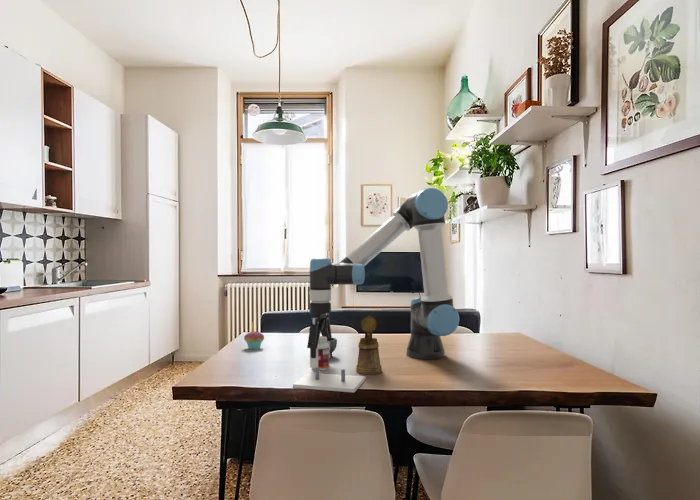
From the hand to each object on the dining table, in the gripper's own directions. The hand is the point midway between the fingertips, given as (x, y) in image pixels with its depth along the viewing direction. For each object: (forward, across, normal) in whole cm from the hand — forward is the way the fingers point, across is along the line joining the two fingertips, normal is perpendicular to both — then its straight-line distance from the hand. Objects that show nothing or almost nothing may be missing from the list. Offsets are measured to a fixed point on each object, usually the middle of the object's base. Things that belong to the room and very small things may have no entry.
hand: (320, 363), depth 154 cm
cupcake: (+2, -26, -39) cm, 47 cm away
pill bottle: (+2, 0, 0) cm, 2 cm away
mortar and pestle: (+2, -18, -5) cm, 19 cm away
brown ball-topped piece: (+2, -3, +17) cm, 17 cm away
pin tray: (+2, +17, +9) cm, 19 cm away
